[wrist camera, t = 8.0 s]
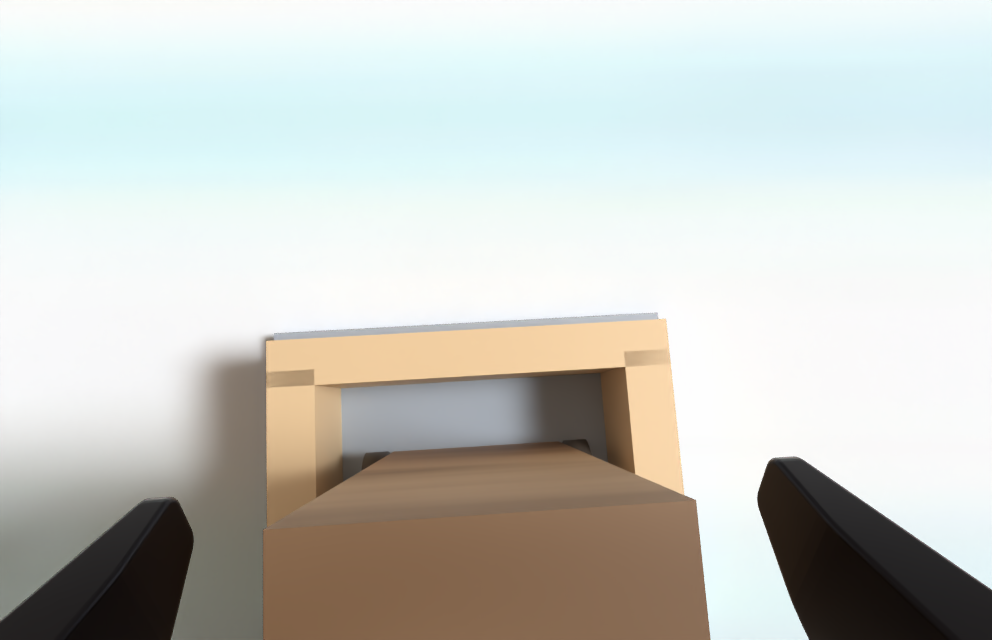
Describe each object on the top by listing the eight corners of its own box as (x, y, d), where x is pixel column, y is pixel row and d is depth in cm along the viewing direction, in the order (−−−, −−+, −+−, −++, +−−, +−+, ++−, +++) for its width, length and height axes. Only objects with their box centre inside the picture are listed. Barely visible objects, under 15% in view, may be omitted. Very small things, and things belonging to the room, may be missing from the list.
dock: (687, 668, 17) (742, 736, 14) (283, 703, 17) (232, 783, 13) (651, 315, 19) (693, 294, 15) (280, 335, 18) (234, 319, 15)
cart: (591, 616, 17) (804, 996, 6) (378, 633, 17) (202, 1062, 6) (577, 436, 18) (744, 488, 7) (373, 449, 17) (208, 524, 7)
